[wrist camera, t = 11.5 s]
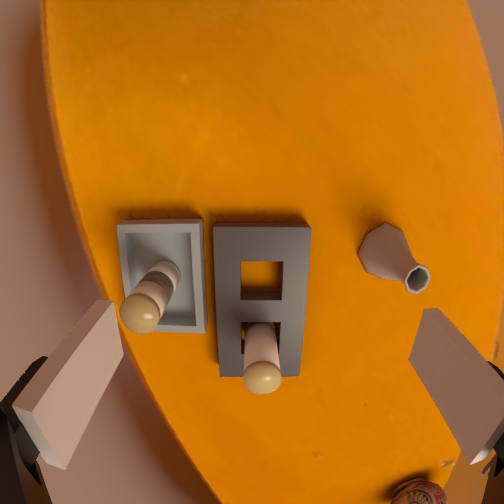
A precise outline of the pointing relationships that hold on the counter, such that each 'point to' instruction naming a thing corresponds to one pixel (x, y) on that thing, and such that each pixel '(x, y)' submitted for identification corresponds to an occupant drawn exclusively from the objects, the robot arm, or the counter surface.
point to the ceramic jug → (419, 493)
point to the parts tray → (176, 250)
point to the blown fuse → (150, 297)
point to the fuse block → (260, 303)
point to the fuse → (261, 358)
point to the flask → (392, 258)
